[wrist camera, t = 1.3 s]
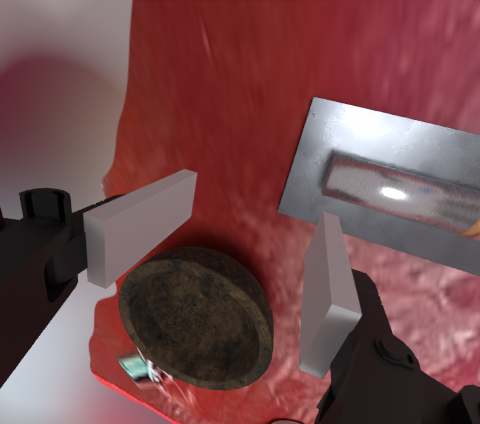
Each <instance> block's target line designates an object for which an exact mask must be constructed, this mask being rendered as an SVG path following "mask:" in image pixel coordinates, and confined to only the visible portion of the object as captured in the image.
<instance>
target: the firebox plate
mask: <svg viewBox="0 0 480 424" xmlns="http://www.w3.org/2000/svg"><path fill="white" fill-rule="evenodd" d="M335 153H338V154H342V155H346V156H349V157H353V158H357V159H361V160H364V161H368V162H372V163H376V164H380V165H383V166H387V167H391V168H395V169H398V170H402V171H406V172H410V173H414V174H417V175H421V176H425V177H429V178H432V179H436V180H440V181H444V182H448V183H451V184H455V185H459V186H463V187H466V188H470V189H474V190H478V191H480V135H477V134H473V133H468V132H464V131H460V130H455V129H451V128H447V127H442V126H438V125H434V124H429V123H425V122H421V121H416V120H412V119H408V118H403V117H399V116H395V115H390V114H386V113H382V112H377V111H373V110H369V109H365V108H360V107H356V106H352V105H347V104H343V103H339V102H334V101H330V100H326V99H321V98H317V97H314V98H313V101H312V104H311V107H310V110H309V114H308V117H307V120H306V123H305V126H304V129H303V133H302V136H301V139H300V142H299V145H298V148H297V152H296V155H295V158H294V161H293V164H292V168H291V171H290V174H289V177H288V180H287V183H286V187H285V190H284V193H283V196H282V199H281V202H280V206H279V209H278V213H281V214H284V215H287V216H291V217H294V218H297V219H300V220H303V221H306V222H310V223H313V224H316V225H318V223H319V220H320V218H321V215H322V213H323V211H324V212H327V213H331V214H334V215H337V216H339V220H340V224H341V229H342V233H345V234H348V235H351V236H354V237H357V238H360V239H364V240H367V241H370V242H373V243H376V244H379V245H383V246H386V247H389V248H392V249H395V250H398V251H402V252H405V253H408V254H411V255H414V256H417V257H421V258H424V259H427V260H430V261H433V262H436V263H440V264H443V265H446V266H449V267H452V268H455V269H459V270H462V271H465V272H468V273H471V274H474V275H478V276H480V241H477V240H473V239H470V238H467V237H463V236H460V235H456V234H453V233H450V232H446V231H443V230H439V229H436V228H433V227H429V226H426V225H422V224H419V223H416V222H412V221H409V220H405V219H402V218H399V217H395V216H392V215H388V214H385V213H382V212H378V211H375V210H372V209H368V208H365V207H361V206H358V205H355V204H351V203H348V202H344V201H341V200H338V199H334V198H331V197H327V196H324V195H321V188H322V184H323V181H324V178H325V175H326V172H327V169H328V167H329V164H330V162H331V160H332V158H333V156H334V154H335Z"/></svg>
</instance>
